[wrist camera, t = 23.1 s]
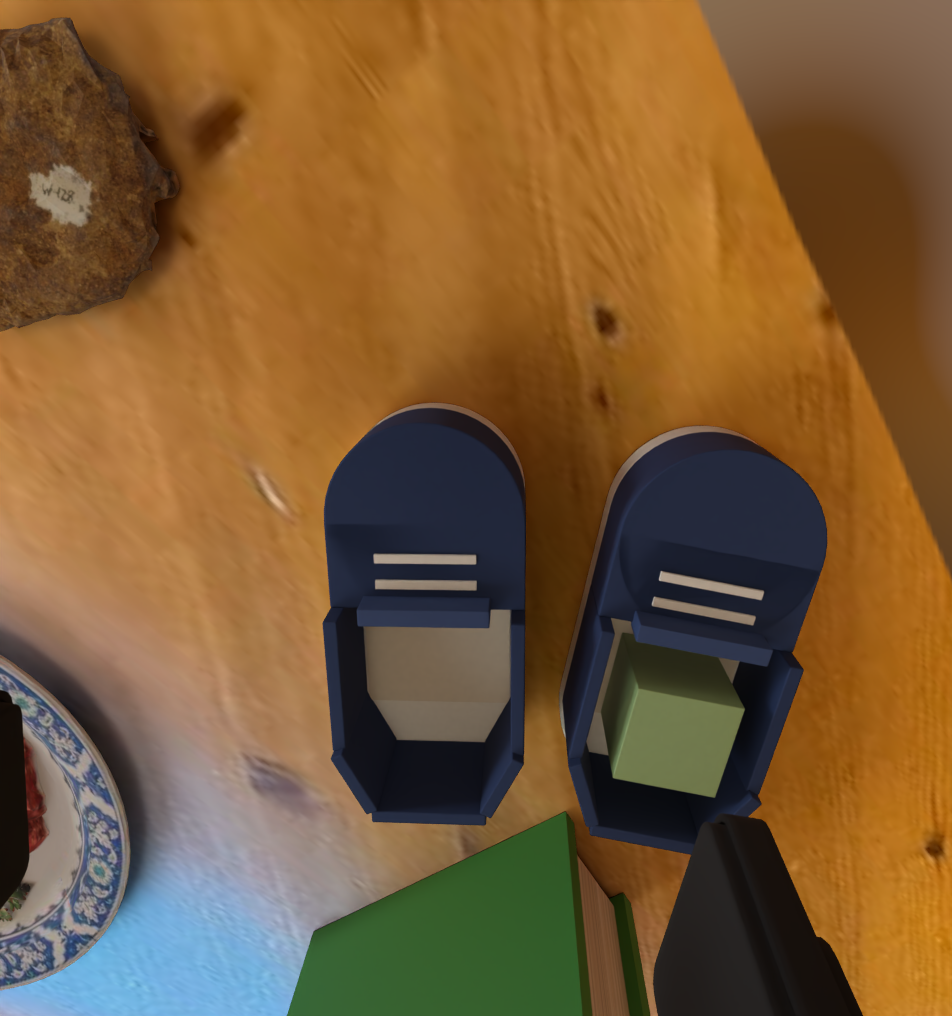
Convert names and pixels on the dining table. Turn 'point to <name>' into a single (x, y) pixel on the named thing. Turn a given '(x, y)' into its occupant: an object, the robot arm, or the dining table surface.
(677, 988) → the robot arm
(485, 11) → the dining table surface
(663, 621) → the sneaker
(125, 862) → the ceramic plate
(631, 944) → the hardback book
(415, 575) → the sneaker
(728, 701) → the green block
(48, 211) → the decorative rock
